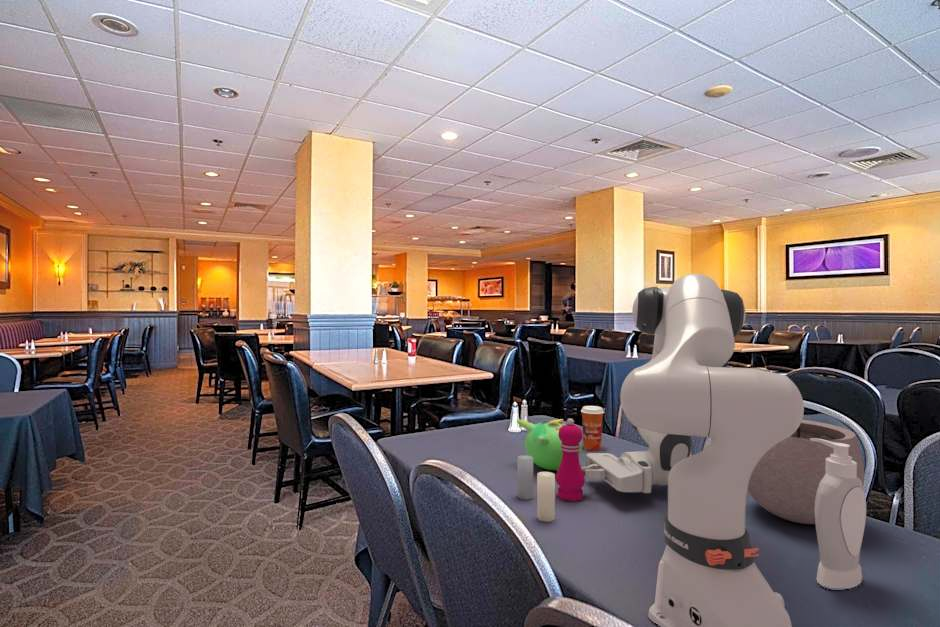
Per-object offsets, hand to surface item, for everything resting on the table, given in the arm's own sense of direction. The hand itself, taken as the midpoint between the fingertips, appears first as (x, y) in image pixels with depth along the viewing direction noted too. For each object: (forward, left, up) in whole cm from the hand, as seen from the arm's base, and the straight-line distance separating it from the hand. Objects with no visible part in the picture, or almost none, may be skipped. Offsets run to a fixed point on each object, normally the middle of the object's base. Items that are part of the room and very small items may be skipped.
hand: (583, 472), depth 126 cm
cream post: (-11, +14, -6) cm, 19 cm away
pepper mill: (0, +4, -6) cm, 7 cm away
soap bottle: (-44, -28, -6) cm, 53 cm away
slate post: (+2, +15, -6) cm, 16 cm away
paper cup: (+39, -20, -6) cm, 44 cm away
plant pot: (-21, -43, -6) cm, 48 cm away
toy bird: (+22, +1, -6) cm, 23 cm away
